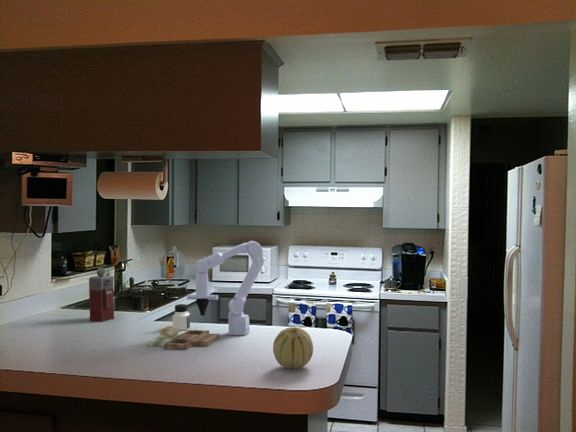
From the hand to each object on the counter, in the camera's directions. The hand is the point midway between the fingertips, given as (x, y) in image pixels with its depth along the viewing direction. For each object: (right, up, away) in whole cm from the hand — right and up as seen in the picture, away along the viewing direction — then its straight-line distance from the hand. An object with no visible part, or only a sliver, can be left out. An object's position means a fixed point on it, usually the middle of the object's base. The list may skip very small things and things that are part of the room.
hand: (203, 315), depth 239 cm
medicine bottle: (-13, -10, +15) cm, 22 cm away
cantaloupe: (+41, -9, -53) cm, 67 cm away
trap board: (-5, -10, -10) cm, 15 cm away
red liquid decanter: (-61, -11, +42) cm, 74 cm away
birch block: (-14, -8, -8) cm, 18 cm away
